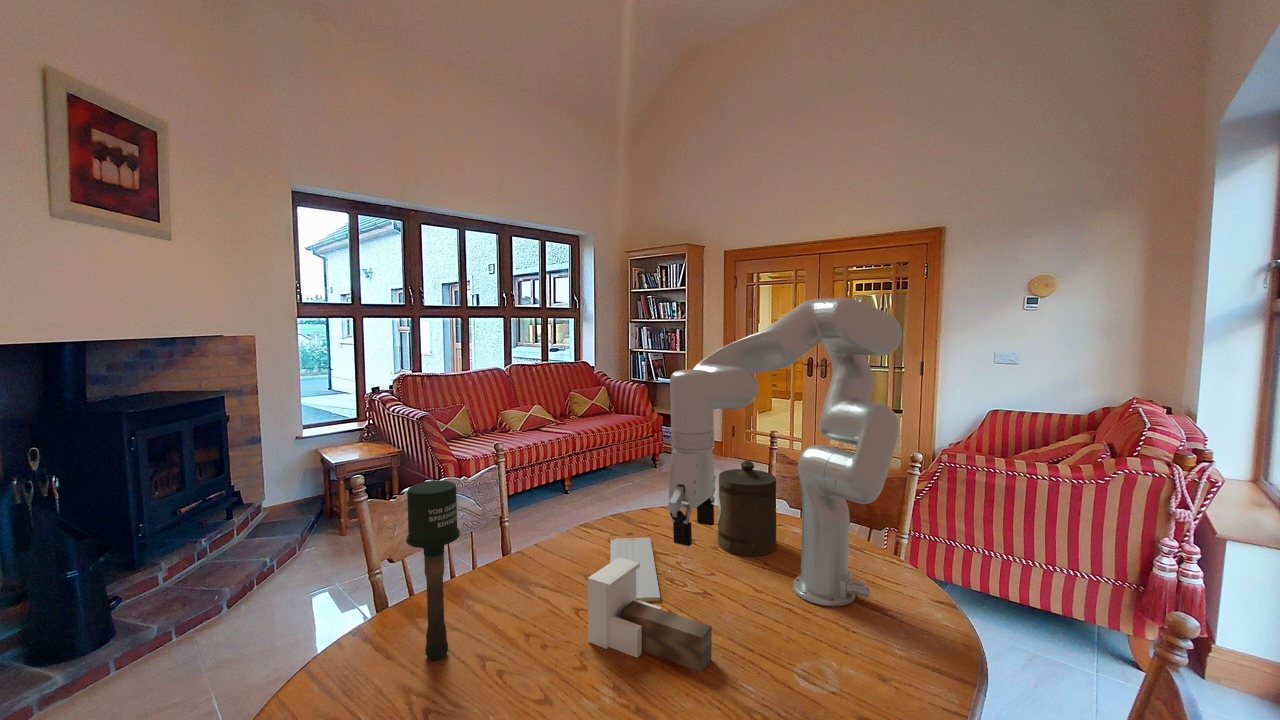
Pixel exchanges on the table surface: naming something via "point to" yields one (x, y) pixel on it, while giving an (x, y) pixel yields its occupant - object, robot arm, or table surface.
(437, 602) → the potato masher grenade
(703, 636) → the rail
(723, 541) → the wooden container
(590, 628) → the white forked bracket
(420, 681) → the table surface
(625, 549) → the baseboard molding
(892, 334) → the robot arm
